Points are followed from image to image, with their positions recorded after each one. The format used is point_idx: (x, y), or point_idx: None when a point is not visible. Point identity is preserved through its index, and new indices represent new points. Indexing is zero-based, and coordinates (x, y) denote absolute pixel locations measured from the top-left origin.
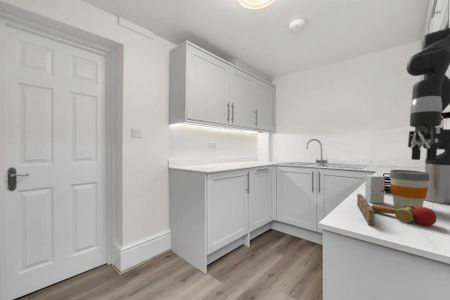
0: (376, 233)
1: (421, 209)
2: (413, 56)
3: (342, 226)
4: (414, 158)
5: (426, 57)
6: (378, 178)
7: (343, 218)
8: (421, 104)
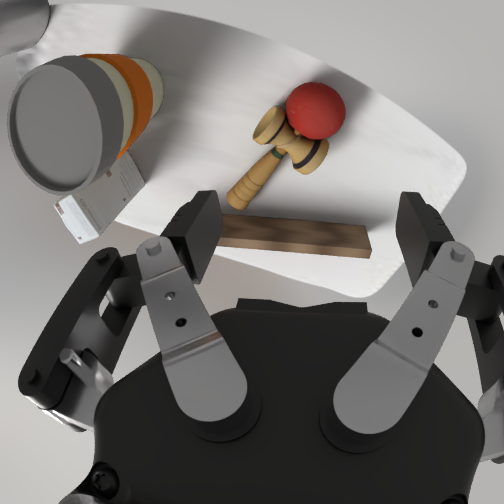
0: None
1: (330, 128)
2: None
3: (378, 276)
4: (220, 223)
5: None
6: (88, 209)
7: (330, 268)
8: None
